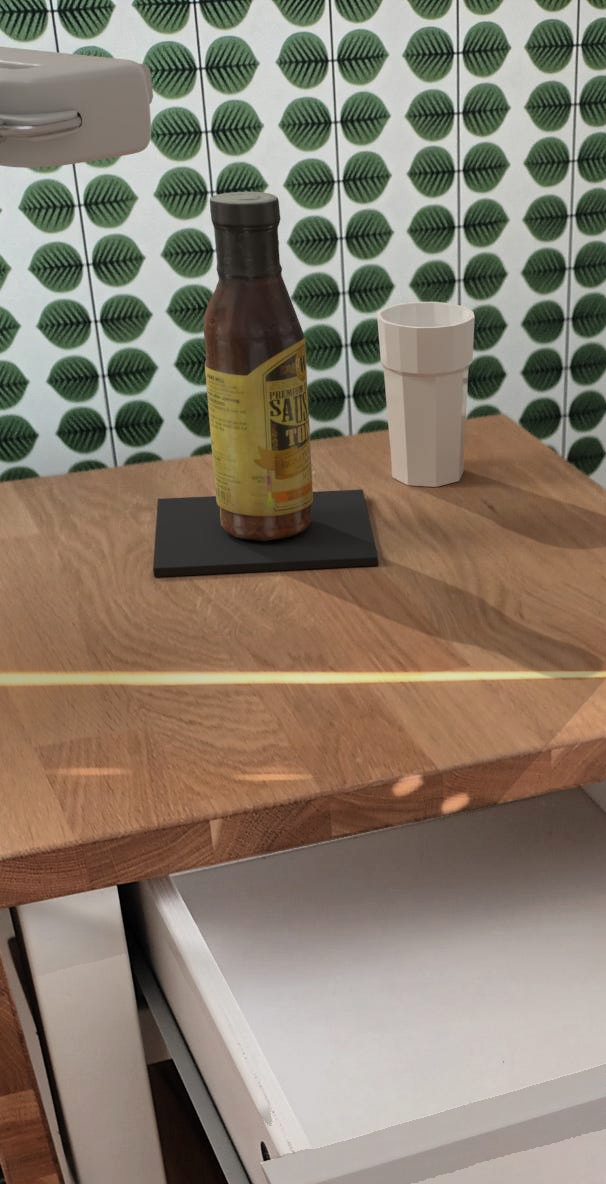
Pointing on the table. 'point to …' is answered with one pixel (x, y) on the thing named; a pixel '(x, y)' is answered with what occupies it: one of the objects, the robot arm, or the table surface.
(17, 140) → the robot arm
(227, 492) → the sauce bottle
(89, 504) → the table surface
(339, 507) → the mat
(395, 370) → the cup
